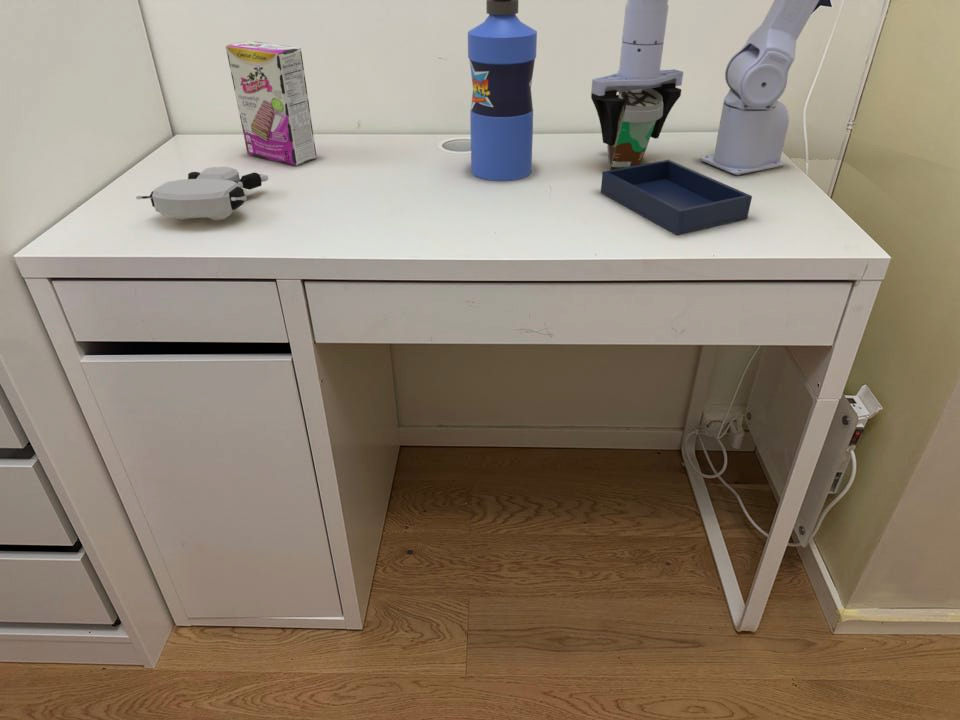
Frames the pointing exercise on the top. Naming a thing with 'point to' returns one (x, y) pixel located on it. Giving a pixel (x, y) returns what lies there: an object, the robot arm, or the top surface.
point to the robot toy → (204, 194)
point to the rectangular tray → (675, 196)
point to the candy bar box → (272, 101)
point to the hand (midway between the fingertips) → (631, 140)
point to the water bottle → (501, 94)
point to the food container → (635, 127)
